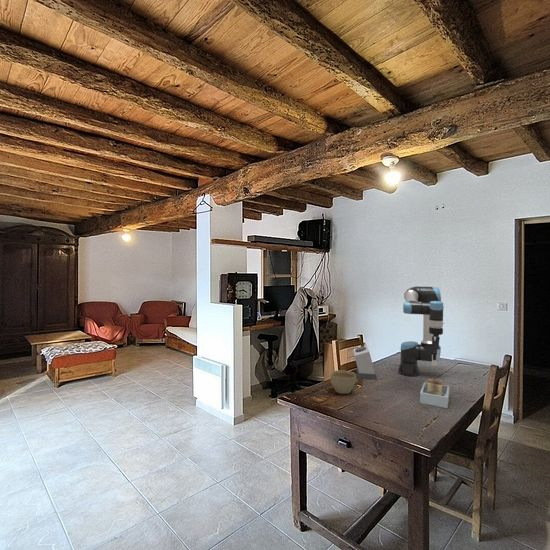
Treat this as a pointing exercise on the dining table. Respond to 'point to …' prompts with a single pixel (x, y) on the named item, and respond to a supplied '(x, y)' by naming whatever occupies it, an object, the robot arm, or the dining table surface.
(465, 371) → the dining table surface
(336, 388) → the planter bowl
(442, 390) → the birch crate
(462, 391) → the dining table surface
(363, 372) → the alarm clock
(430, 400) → the light blue crate
